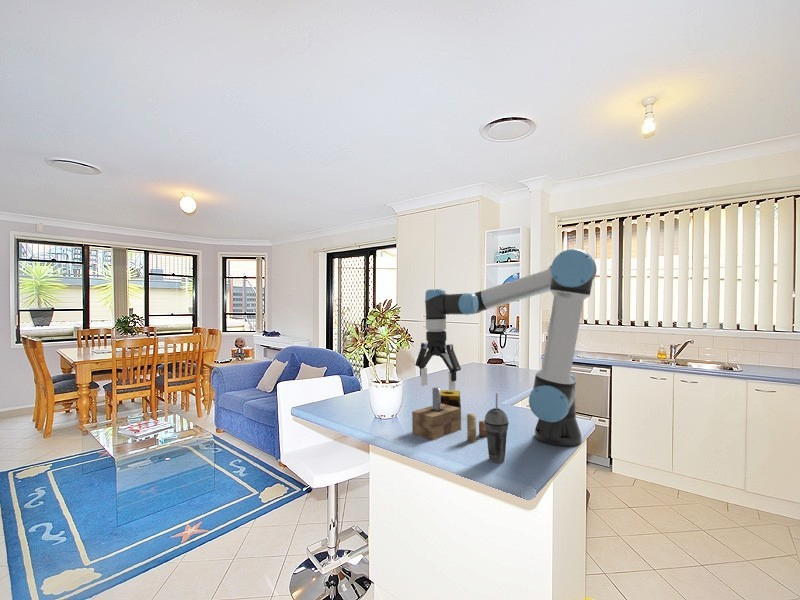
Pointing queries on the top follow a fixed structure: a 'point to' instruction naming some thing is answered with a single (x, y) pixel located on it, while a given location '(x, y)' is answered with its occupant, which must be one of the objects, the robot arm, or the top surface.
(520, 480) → the top surface
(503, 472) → the top surface
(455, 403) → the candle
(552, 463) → the top surface
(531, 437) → the top surface
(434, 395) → the long pin
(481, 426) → the short pin
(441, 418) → the hole block
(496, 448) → the beverage cup
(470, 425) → the medium pin
